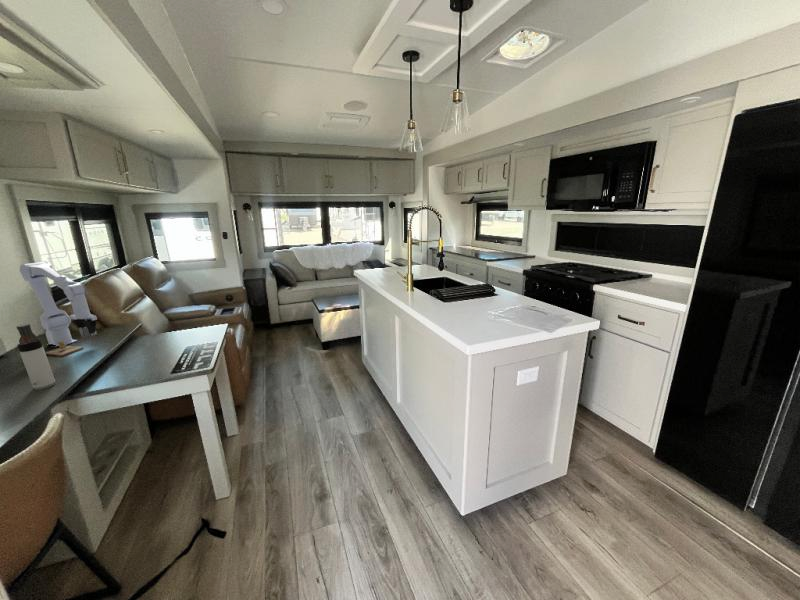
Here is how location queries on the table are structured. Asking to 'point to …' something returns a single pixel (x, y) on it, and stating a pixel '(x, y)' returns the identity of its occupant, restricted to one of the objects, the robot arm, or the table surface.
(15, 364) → the table surface
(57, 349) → the brown peg board
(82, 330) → the octagonal steel tube
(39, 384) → the travel mug
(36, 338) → the sauce bottle
